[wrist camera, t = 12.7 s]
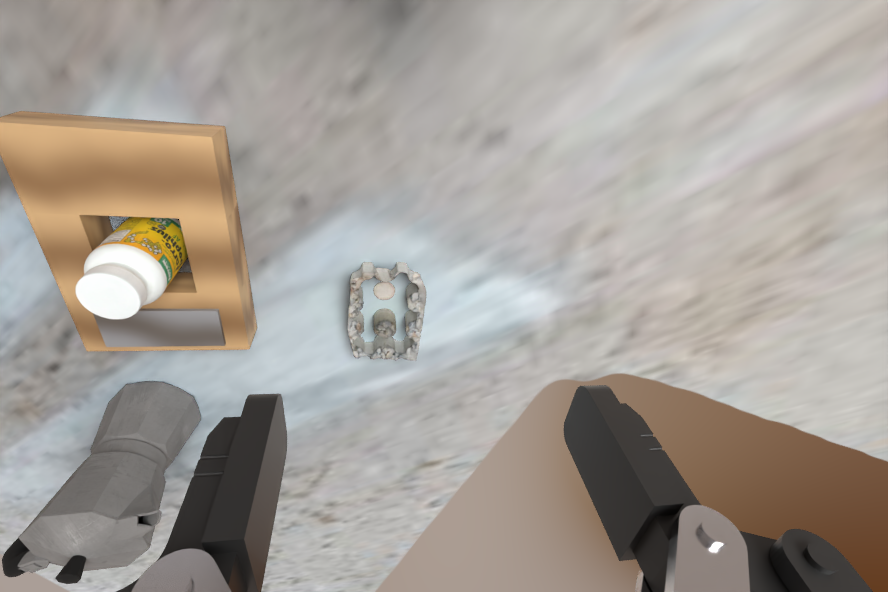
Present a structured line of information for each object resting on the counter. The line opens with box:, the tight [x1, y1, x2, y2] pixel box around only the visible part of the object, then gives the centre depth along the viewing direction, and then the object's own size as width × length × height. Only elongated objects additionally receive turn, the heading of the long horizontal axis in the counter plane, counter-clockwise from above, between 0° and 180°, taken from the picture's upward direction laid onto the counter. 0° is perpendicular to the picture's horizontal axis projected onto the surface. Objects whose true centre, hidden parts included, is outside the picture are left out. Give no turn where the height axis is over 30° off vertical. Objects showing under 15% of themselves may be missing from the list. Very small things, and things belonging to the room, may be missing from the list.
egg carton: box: [348, 262, 426, 361], centre depth 44 cm, size 11×8×4 cm
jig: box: [0, 111, 257, 351], centre depth 37 cm, size 20×14×4 cm
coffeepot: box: [2, 381, 201, 584], centre depth 42 cm, size 15×9×18 cm, turn 109°
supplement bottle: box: [75, 217, 188, 319], centre depth 34 cm, size 5×5×10 cm
